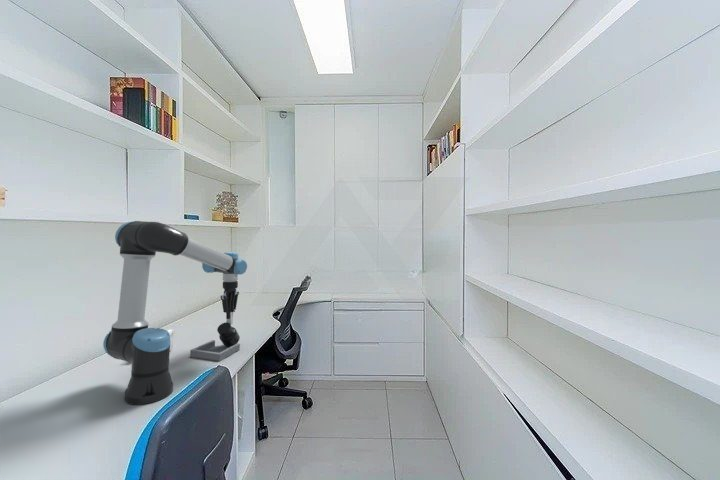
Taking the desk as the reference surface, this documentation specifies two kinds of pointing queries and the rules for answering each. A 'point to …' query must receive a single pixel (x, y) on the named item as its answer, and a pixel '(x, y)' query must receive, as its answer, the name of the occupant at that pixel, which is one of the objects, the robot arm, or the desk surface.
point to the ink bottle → (228, 334)
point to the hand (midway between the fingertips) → (229, 324)
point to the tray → (213, 351)
